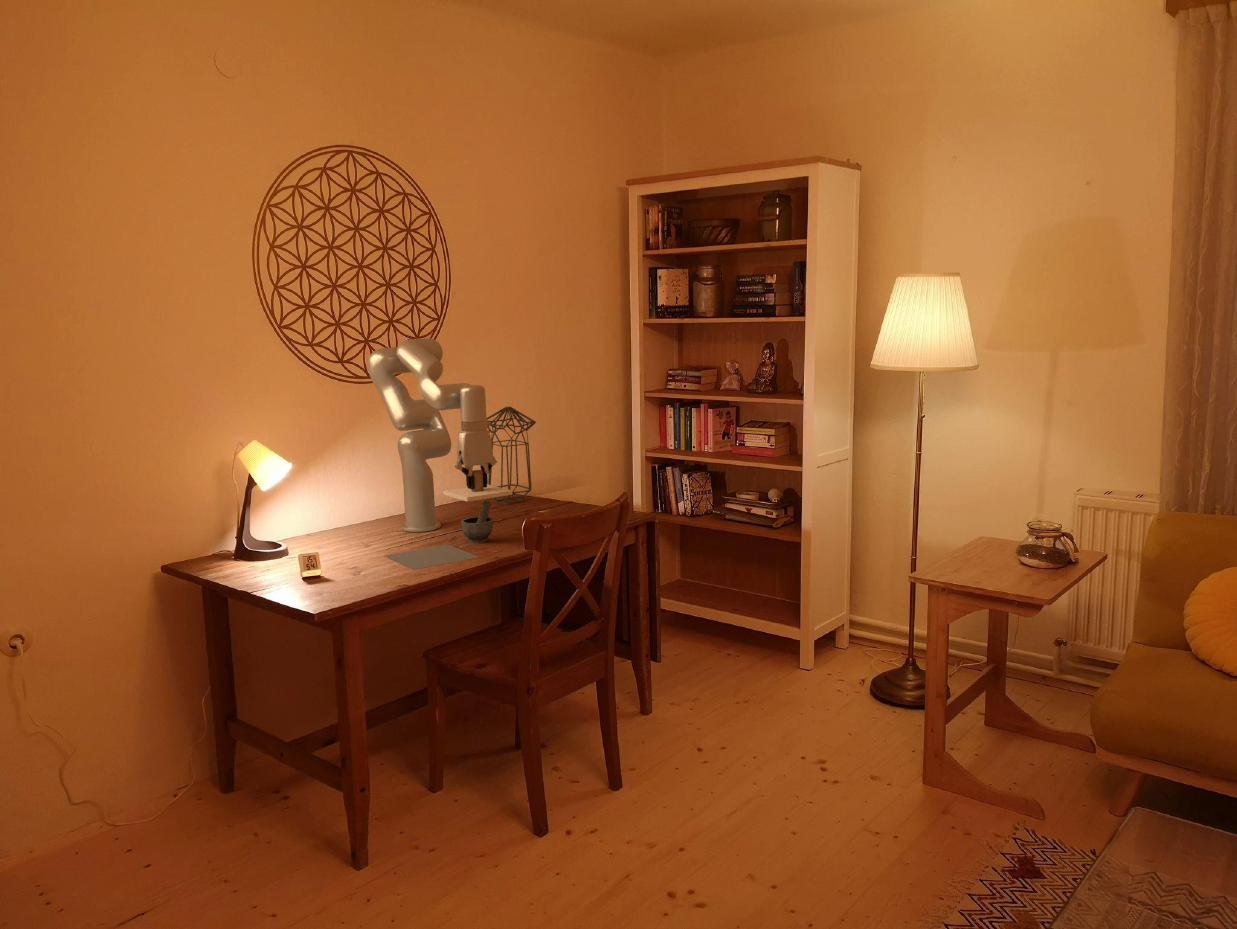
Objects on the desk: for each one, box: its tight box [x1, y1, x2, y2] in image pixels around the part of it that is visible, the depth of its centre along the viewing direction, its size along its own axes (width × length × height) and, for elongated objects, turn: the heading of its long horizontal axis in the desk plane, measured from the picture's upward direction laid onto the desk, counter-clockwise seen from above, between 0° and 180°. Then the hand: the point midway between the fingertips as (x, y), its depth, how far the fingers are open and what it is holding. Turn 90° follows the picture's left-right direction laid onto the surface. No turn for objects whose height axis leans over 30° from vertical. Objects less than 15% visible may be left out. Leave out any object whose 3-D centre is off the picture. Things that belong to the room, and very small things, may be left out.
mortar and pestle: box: [460, 500, 494, 544], centre depth 289 cm, size 11×9×12 cm
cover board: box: [443, 469, 513, 502], centre depth 287 cm, size 15×15×7 cm
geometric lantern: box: [487, 406, 537, 505], centre depth 347 cm, size 16×16×35 cm
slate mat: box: [383, 543, 479, 571], centre depth 271 cm, size 20×20×1 cm
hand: (477, 487), depth 287 cm, fingers closed on cover board, 3 cm apart
